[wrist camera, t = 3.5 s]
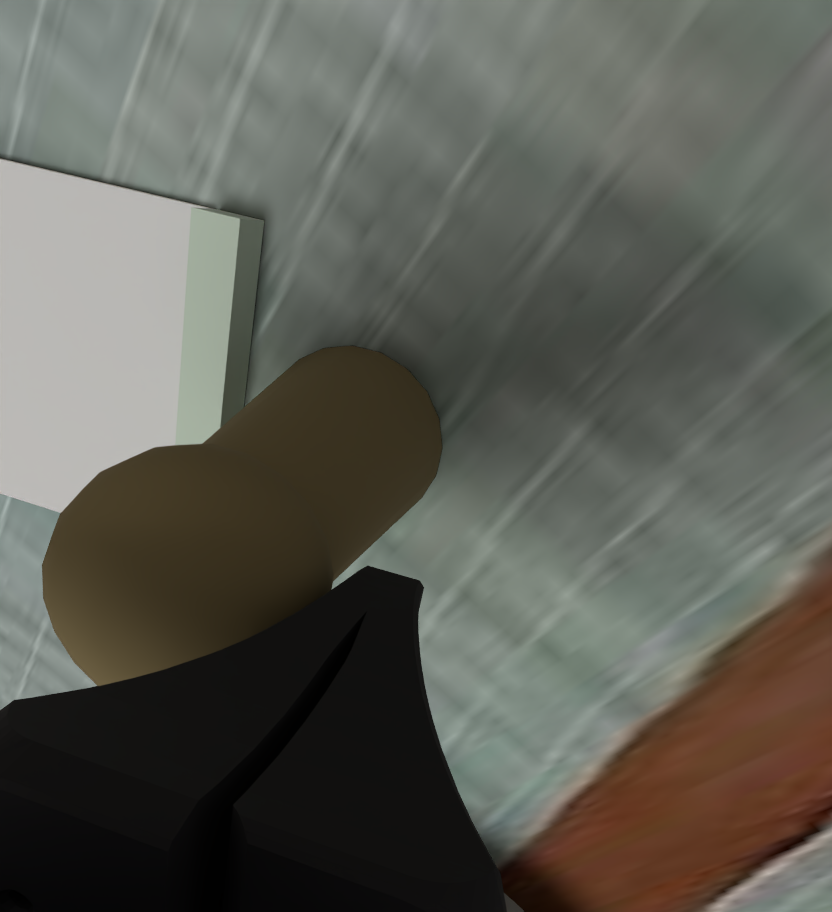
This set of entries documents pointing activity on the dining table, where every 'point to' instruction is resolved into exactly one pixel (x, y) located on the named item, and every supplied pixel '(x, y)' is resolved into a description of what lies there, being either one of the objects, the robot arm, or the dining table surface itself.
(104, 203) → the mat
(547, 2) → the dining table surface
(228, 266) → the kerb
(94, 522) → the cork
